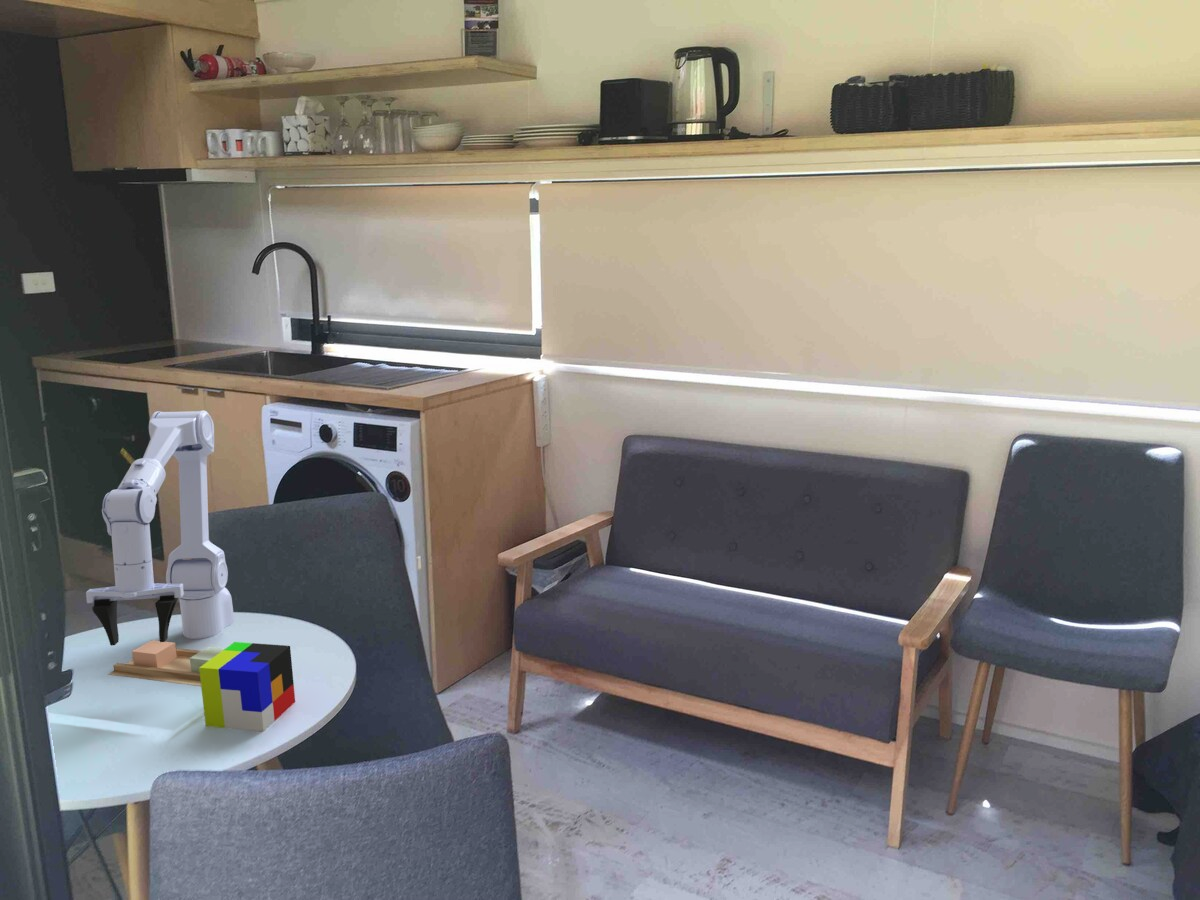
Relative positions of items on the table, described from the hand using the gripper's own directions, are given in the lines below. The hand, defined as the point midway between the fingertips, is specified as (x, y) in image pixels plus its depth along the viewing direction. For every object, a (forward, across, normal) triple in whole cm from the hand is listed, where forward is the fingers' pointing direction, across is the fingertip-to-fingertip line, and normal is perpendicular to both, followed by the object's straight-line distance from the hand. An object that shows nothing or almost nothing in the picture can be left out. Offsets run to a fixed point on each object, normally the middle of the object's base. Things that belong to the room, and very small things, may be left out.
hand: (139, 642), depth 164 cm
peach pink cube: (+8, -1, +13) cm, 15 cm away
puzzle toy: (+11, +18, -8) cm, 23 cm away
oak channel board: (+9, +6, +10) cm, 14 cm away
